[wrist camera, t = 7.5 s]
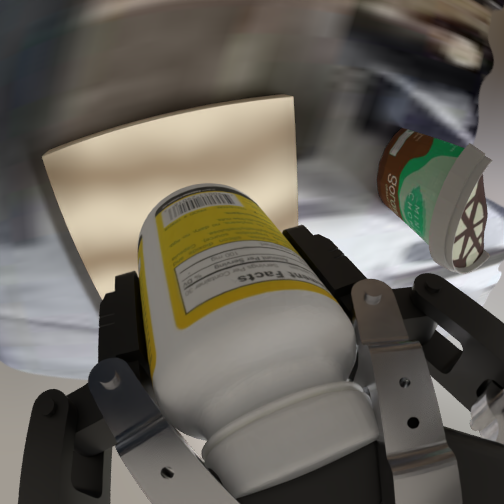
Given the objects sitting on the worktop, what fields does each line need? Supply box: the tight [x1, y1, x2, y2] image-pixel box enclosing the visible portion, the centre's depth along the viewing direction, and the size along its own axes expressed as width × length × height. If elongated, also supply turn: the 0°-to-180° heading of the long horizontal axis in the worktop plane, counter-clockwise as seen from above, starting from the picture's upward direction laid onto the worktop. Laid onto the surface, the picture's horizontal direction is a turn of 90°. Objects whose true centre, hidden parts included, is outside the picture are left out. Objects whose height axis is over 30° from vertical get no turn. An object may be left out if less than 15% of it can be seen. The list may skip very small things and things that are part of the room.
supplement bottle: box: [138, 183, 379, 498], centre depth 9 cm, size 5×5×10 cm
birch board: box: [42, 94, 298, 300], centre depth 22 cm, size 18×16×2 cm
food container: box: [377, 128, 492, 274], centre depth 23 cm, size 12×6×10 cm, turn 34°
